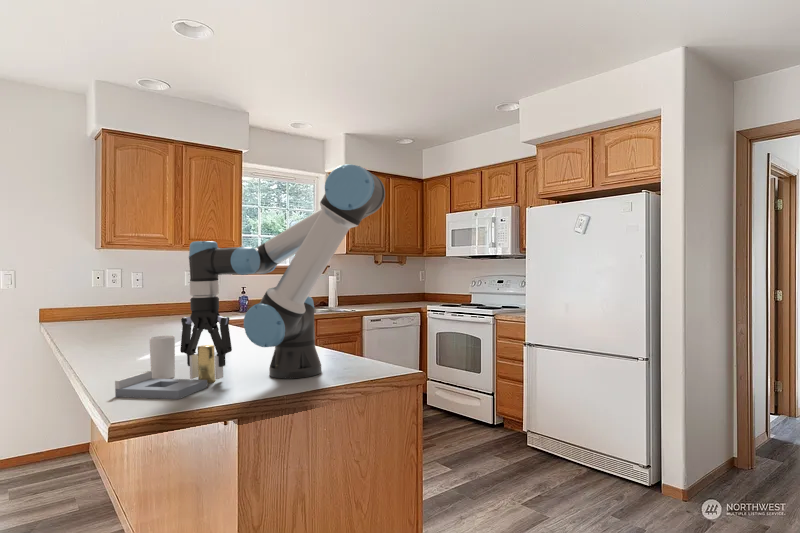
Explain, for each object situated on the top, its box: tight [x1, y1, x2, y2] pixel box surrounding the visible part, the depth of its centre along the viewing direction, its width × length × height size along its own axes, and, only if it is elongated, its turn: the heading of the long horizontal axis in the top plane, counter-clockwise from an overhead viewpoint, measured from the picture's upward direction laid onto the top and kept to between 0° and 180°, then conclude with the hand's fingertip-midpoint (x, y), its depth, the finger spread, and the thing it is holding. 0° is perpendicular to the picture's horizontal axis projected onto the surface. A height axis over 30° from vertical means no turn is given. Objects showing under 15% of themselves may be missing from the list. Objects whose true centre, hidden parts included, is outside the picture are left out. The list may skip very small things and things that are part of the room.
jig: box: [114, 370, 208, 400], centre depth 132 cm, size 18×12×4 cm, turn 78°
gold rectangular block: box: [197, 344, 216, 384], centre depth 143 cm, size 4×4×10 cm
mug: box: [149, 335, 176, 379], centre depth 152 cm, size 10×7×12 cm, turn 5°
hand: (206, 377), depth 143 cm, fingers open, 7 cm apart
